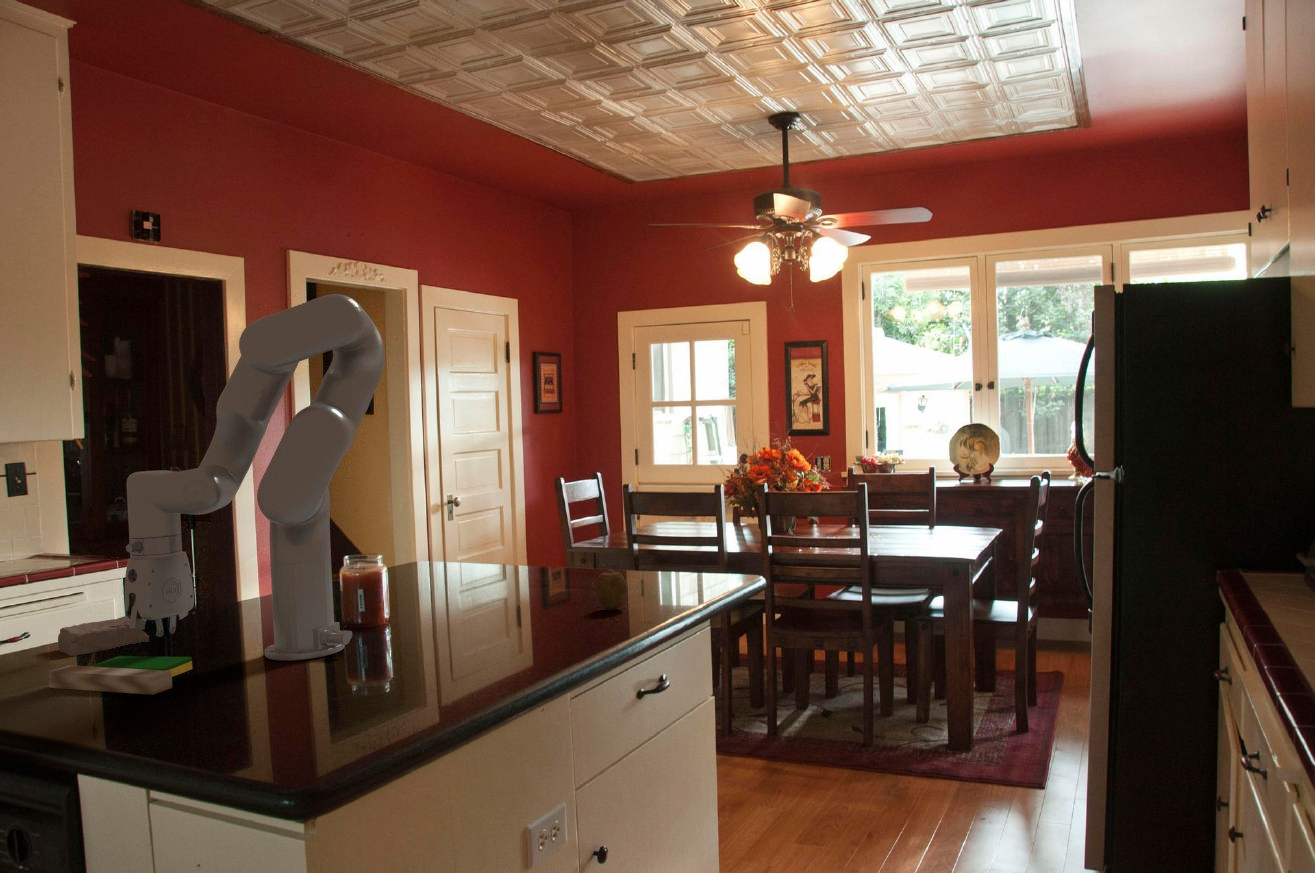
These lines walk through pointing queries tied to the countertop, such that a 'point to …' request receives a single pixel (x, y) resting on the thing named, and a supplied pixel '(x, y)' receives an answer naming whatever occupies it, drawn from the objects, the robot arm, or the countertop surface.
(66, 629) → the brick
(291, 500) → the robot arm
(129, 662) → the dish sponge
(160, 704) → the countertop surface
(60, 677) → the batten
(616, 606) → the fruit
